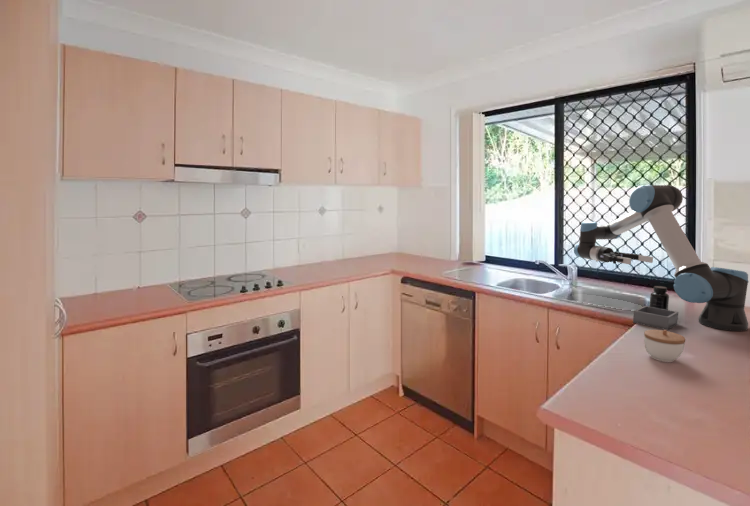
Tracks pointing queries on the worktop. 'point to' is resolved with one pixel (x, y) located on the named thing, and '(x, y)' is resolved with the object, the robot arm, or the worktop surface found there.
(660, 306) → the supplement bottle
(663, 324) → the bin
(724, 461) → the worktop surface
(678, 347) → the lidded jar
